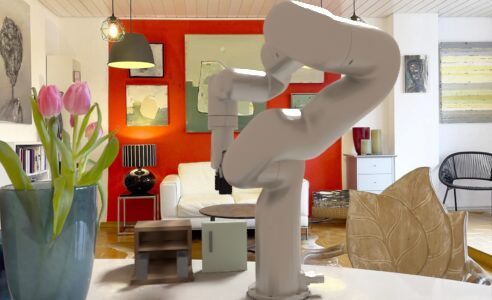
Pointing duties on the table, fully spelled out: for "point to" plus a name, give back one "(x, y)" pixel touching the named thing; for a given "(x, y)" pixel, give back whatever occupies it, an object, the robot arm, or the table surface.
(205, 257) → the door
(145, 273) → the hinge clips
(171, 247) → the cabinet
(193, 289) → the table surface
